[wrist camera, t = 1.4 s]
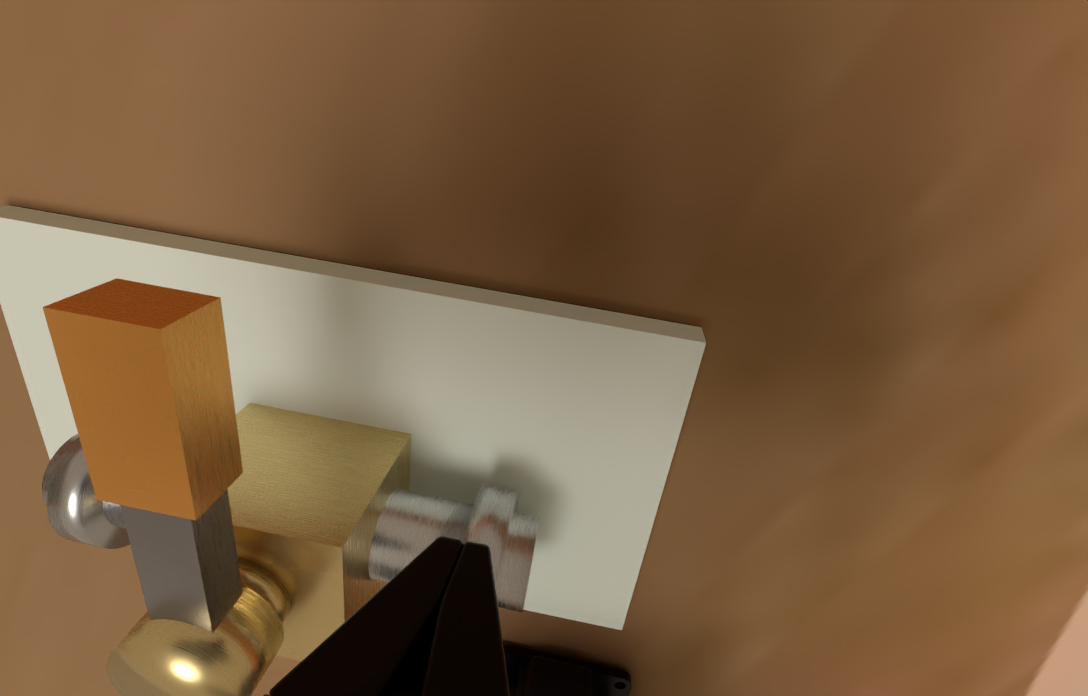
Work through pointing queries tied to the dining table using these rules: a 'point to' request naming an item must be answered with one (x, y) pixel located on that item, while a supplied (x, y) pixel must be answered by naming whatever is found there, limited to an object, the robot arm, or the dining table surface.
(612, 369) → the board
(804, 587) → the dining table surface
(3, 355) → the dining table surface
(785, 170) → the dining table surface
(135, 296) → the lever
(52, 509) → the valve
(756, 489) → the dining table surface
